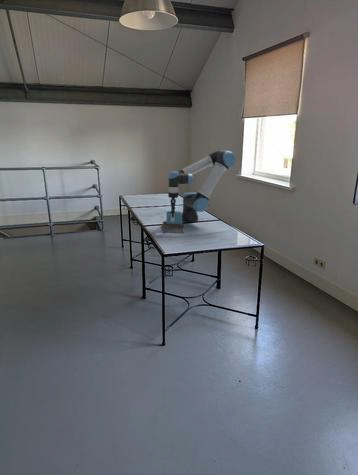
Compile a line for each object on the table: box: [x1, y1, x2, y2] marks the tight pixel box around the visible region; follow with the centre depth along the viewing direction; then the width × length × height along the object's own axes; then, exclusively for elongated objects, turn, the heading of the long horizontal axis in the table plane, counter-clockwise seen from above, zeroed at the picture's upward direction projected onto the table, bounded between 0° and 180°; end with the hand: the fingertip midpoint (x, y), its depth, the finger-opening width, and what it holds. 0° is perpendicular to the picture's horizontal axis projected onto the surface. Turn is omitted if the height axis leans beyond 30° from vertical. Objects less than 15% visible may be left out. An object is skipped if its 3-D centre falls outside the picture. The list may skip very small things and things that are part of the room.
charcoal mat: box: [161, 227, 184, 234], centre depth 249 cm, size 11×16×1 cm
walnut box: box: [161, 220, 184, 229], centre depth 260 cm, size 9×16×3 cm, turn 91°
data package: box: [165, 210, 183, 224], centre depth 258 cm, size 12×4×12 cm, turn 92°
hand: (172, 219), depth 258 cm, fingers open, 13 cm apart
